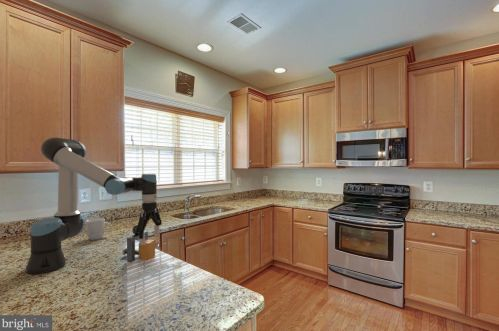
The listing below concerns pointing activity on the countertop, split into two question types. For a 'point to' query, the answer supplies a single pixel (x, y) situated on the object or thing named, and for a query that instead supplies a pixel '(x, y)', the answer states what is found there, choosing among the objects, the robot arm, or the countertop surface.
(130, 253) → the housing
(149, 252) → the plug
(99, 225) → the mug
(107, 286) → the countertop surface
